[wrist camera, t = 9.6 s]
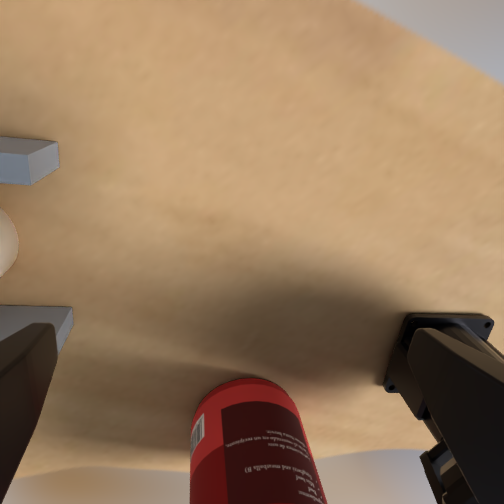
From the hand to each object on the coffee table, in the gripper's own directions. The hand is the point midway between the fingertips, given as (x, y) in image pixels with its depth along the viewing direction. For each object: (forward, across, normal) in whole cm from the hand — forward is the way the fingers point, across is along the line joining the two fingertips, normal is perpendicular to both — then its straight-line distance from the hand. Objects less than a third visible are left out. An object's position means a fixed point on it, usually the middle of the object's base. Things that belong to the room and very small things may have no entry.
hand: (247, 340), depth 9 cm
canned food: (+12, -3, +16) cm, 20 cm away
